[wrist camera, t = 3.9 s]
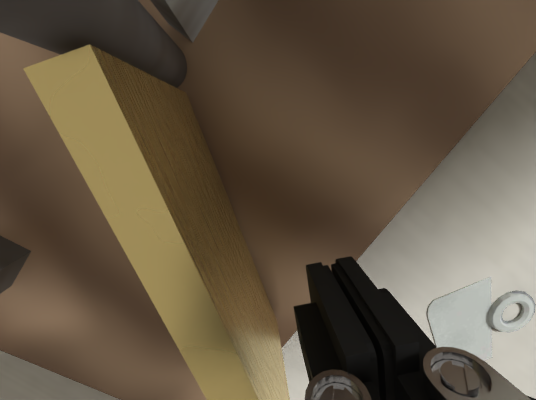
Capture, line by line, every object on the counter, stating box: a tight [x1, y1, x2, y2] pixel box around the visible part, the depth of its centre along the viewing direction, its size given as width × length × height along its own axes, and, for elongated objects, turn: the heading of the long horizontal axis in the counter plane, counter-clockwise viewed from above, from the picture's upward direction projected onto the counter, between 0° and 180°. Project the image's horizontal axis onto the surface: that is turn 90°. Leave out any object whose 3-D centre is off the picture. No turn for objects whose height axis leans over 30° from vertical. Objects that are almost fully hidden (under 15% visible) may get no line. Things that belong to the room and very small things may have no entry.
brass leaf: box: [23, 44, 290, 400], centre depth 8 cm, size 11×1×6 cm, turn 19°
